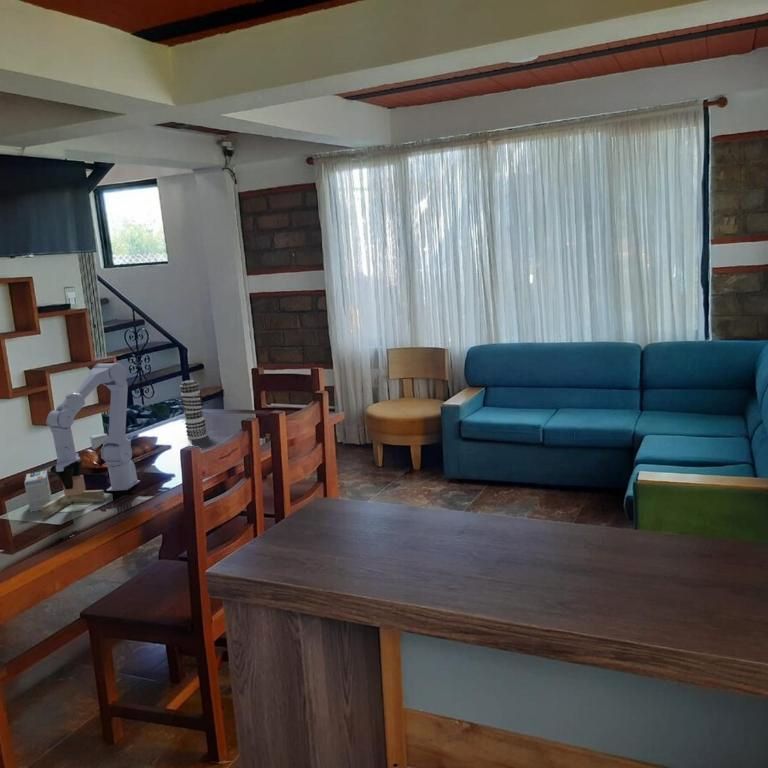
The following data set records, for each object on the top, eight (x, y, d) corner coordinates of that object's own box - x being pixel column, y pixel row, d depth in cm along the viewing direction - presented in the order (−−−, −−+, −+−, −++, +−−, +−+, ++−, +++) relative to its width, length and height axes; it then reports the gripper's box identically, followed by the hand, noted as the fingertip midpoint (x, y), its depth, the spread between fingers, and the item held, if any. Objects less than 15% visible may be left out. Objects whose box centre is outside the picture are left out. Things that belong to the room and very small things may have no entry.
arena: (70, 501, 254) (68, 491, 253) (105, 499, 252) (103, 489, 251) (43, 517, 240) (41, 507, 239) (80, 516, 237) (78, 505, 237)
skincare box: (97, 467, 294) (91, 437, 291) (94, 465, 297) (89, 436, 295) (113, 463, 297) (107, 434, 295) (110, 461, 301) (105, 432, 298)
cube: (70, 491, 248) (67, 476, 247) (85, 489, 248) (83, 474, 247) (65, 496, 243) (62, 481, 242) (80, 494, 243) (77, 479, 242)
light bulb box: (31, 503, 256) (25, 473, 254) (52, 499, 258) (47, 469, 256) (29, 512, 246) (23, 481, 244) (51, 508, 248) (45, 477, 246)
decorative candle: (211, 436, 326) (202, 380, 321) (191, 440, 321) (182, 384, 316) (203, 432, 334) (195, 378, 329) (183, 437, 329) (174, 382, 324)
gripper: (68, 451, 235) (76, 491, 238) (85, 439, 250) (92, 478, 252) (46, 453, 235) (54, 494, 238) (63, 441, 250) (71, 480, 252)
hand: (72, 486), depth 245 cm, fingers closed on cube, 5 cm apart
